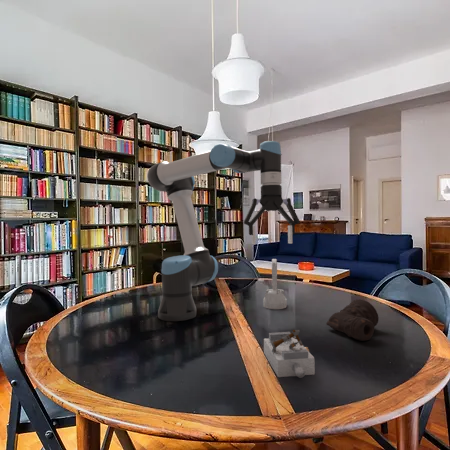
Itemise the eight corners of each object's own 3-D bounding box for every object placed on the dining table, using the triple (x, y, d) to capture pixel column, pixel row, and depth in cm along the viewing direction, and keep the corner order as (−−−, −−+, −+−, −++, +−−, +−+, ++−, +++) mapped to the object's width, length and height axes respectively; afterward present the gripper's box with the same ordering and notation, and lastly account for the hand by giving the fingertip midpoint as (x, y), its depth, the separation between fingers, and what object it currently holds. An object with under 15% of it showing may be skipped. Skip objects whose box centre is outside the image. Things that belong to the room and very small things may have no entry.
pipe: (355, 319, 92) (387, 303, 100) (318, 310, 106) (348, 296, 113) (362, 351, 93) (392, 332, 100) (324, 338, 106) (353, 323, 113)
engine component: (262, 308, 133) (286, 309, 131) (261, 260, 133) (285, 260, 131) (264, 302, 143) (286, 303, 141) (263, 257, 143) (286, 257, 141)
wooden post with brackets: (306, 344, 80) (299, 328, 80) (279, 359, 79) (271, 343, 79) (303, 341, 82) (296, 326, 82) (277, 356, 81) (270, 340, 81)
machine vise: (281, 383, 71) (281, 359, 71) (263, 352, 88) (263, 333, 88) (324, 380, 72) (323, 356, 72) (298, 350, 89) (298, 331, 89)
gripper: (238, 183, 108) (239, 245, 108) (308, 183, 111) (309, 243, 111) (235, 186, 116) (236, 244, 116) (300, 186, 118) (301, 242, 118)
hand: (272, 243), depth 113 cm, fingers open, 13 cm apart
